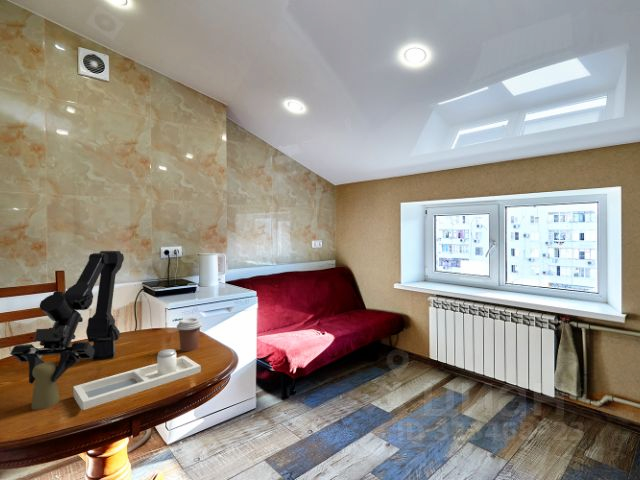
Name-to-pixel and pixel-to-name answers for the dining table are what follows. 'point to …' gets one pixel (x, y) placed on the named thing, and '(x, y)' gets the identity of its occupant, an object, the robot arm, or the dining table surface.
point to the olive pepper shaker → (44, 386)
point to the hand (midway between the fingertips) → (41, 382)
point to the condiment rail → (129, 383)
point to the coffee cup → (189, 334)
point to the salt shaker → (166, 362)
